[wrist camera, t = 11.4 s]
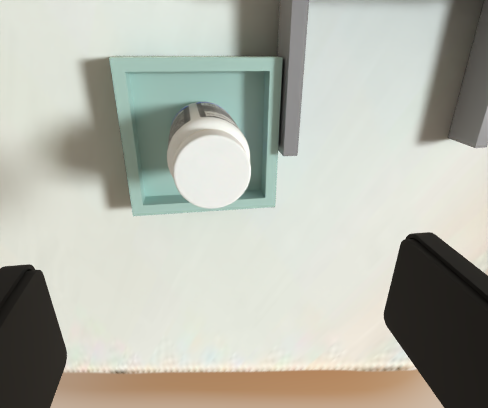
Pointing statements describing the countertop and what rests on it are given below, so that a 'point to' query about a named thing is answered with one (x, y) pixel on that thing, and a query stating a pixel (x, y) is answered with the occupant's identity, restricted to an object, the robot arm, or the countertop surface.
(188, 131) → the pill bottle
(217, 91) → the tray
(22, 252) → the countertop surface
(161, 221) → the countertop surface
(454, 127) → the bay
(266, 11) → the countertop surface
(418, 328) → the robot arm
